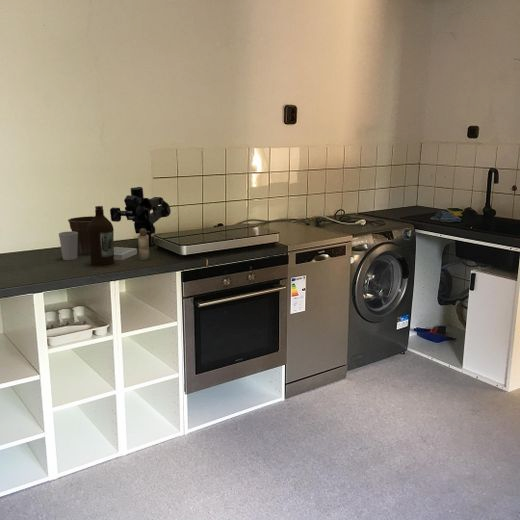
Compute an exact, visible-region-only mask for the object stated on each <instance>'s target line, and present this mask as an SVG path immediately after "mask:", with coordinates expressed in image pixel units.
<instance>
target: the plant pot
mask: <svg viewBox="0 0 520 520" xmlns="http://www.w3.org/2000/svg"><path fill="white" fill-rule="evenodd" d="M94 217H95V215H93V216H91V215H89V216H88V215H87V216H79V217H78V216H77V217H72V218H69V219H67V221H68V222H69V228H70V230H71V231H72V232H78V244H77V255H90V248H89V239H88V231H87V229H88V225H89V223H90V222H91V220H92V219H93V218H94Z"/></svg>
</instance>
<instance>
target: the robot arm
mask: <svg viewBox="0 0 520 520" xmlns="http://www.w3.org/2000/svg"><path fill="white" fill-rule="evenodd" d="M123 201H124V203H125V207H124V210H121V208H120V207H111V208H110V209H109V215H110V220H111V221H110V222H115V223H116V222H117V223H118V222H121V221H122V217H125V218H126V221H132V222H134V223H133V226H134V231H135V234H136V235H137V234H139V235H140V233H139V231H140V229H142V228H144V229H146V231H147V233H146V235H148V240H149V246H150V247H151V245H152V246H154V245H153V243H154V242H153V239H152V235H155V234H156V226H155V225H154V224H155V223H156V222H157V221H160V219H161V218H168V217H169V216H170V215H171V212H172V211H171V207H170V205H169V203H168V202H166V201H165V200H164V198H163V197H162V196H161V197H160V196H154V197H152V198H149V197H144V187H142V186H137V187H131V188H130V195H126V196H125V198H124V200H123ZM158 205H160V206H158ZM151 211H152V212H151ZM152 242H153V243H152ZM136 246H137V247H139V245H138V244H137V245H136Z"/></svg>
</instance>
